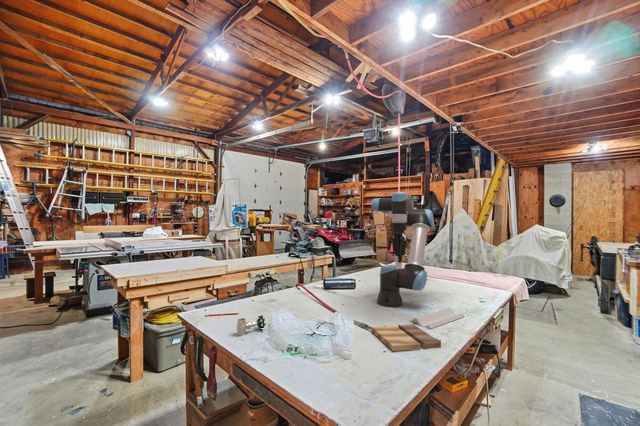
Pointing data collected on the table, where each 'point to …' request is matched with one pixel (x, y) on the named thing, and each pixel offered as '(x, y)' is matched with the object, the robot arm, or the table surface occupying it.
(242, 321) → the valve
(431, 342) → the walnut floor board
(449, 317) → the crown molding
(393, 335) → the oak plank
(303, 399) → the table surface
